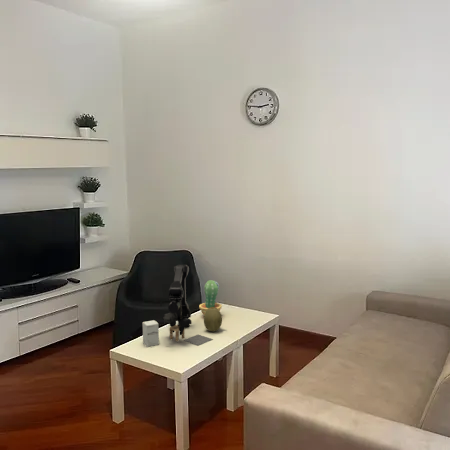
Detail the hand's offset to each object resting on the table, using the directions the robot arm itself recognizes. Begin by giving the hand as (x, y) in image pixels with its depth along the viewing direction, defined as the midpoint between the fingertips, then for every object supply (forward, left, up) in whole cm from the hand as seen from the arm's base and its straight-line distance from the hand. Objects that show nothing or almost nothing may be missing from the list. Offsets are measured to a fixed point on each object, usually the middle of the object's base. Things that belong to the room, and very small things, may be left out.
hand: (177, 333), depth 275 cm
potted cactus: (-14, +43, -4) cm, 46 cm away
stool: (0, 0, -3) cm, 3 cm away
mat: (+9, +8, -4) cm, 13 cm away
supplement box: (-8, -13, -4) cm, 16 cm away
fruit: (+5, +25, -4) cm, 26 cm away
